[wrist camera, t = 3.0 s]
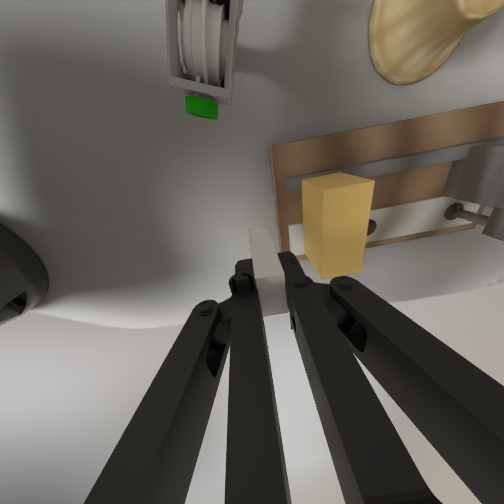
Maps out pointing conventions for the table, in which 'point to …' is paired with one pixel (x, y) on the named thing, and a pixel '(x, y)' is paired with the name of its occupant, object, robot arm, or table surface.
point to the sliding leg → (336, 222)
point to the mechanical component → (203, 52)
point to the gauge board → (404, 175)
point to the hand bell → (420, 34)
